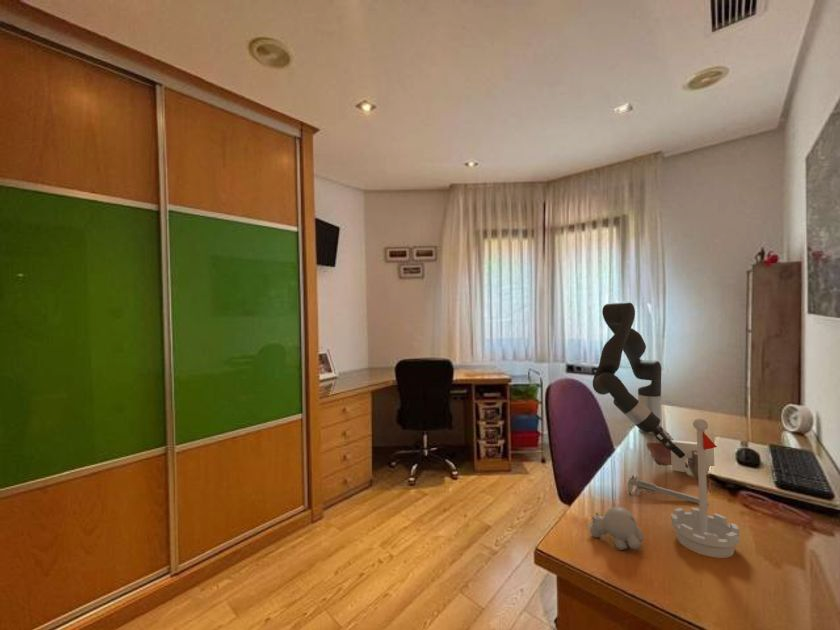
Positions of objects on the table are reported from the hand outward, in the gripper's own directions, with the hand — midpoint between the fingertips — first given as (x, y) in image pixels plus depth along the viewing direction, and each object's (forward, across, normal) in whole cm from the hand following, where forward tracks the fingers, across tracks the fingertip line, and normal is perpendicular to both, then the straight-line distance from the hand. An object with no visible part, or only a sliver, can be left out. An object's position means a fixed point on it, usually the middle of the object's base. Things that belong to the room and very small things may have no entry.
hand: (680, 452), depth 133 cm
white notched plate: (+7, 0, +2) cm, 7 cm away
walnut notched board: (+7, 0, +1) cm, 8 cm away
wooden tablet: (+3, +16, +7) cm, 18 cm away
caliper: (-1, -26, +10) cm, 28 cm away
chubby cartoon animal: (-11, -56, +20) cm, 61 cm away
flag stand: (+3, -48, +6) cm, 49 cm away
